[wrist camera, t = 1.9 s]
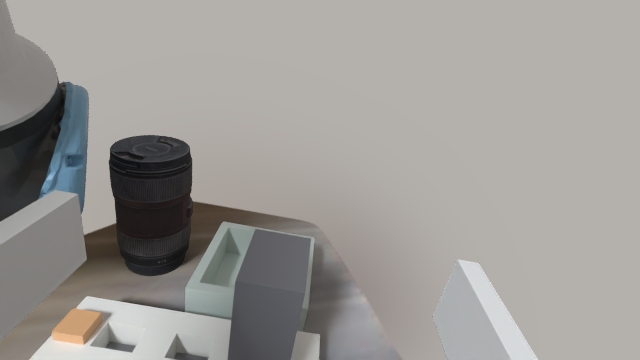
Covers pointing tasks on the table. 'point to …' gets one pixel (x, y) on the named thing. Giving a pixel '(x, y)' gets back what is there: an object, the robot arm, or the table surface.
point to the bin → (228, 273)
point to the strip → (147, 335)
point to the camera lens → (152, 201)
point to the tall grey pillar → (269, 297)
